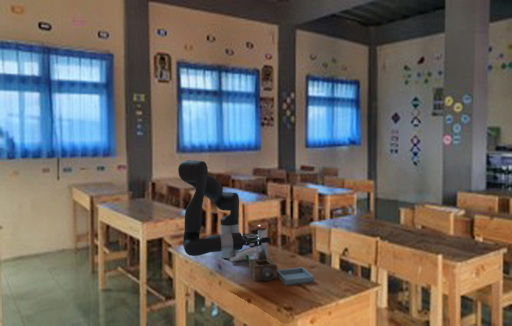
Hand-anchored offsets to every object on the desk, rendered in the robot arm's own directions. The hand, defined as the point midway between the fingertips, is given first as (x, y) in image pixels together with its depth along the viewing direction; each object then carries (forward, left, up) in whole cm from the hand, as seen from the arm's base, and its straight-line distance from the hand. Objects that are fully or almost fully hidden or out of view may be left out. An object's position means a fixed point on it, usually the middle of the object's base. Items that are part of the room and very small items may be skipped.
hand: (268, 238), depth 182 cm
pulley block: (+1, -3, -17) cm, 17 cm away
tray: (+8, +9, -17) cm, 21 cm away
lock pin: (0, -3, -9) cm, 9 cm away
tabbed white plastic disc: (-21, -5, -17) cm, 28 cm away
